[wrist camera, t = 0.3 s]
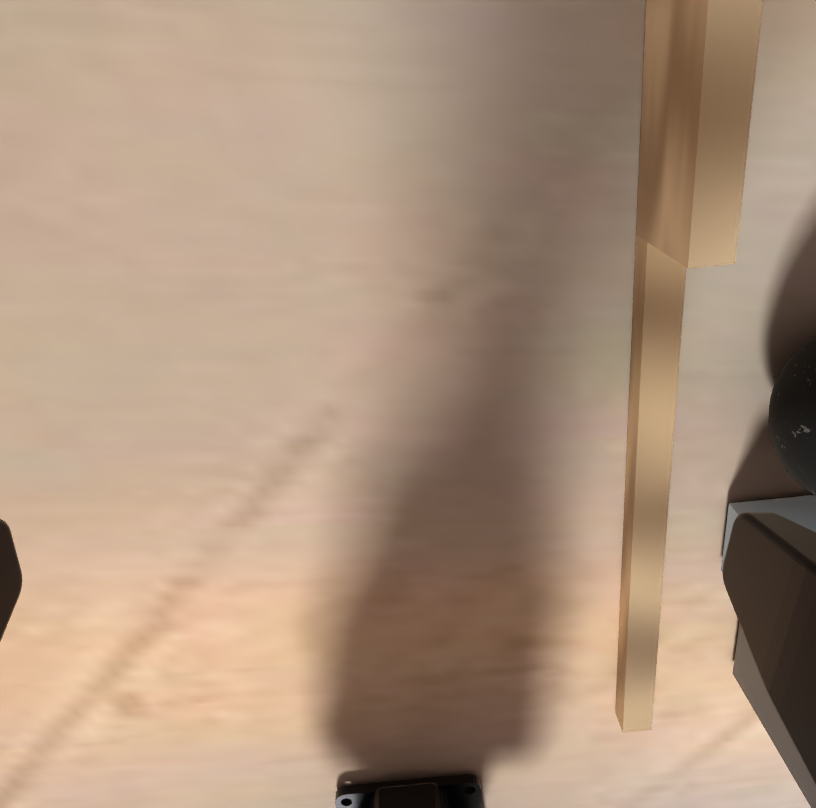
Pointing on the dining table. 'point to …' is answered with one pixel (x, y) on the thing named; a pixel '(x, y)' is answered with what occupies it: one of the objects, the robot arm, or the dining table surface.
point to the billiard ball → (796, 415)
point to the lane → (647, 476)
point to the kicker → (812, 516)
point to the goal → (696, 126)
